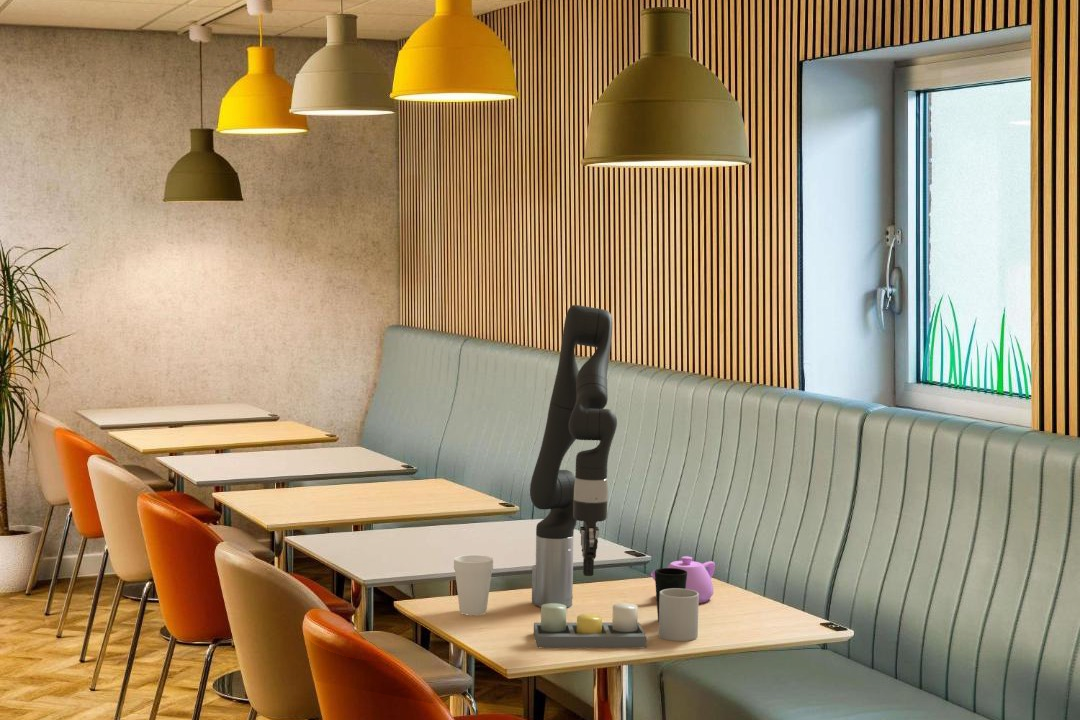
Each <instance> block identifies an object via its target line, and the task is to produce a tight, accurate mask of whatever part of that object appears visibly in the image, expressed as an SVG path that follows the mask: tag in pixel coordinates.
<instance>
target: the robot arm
mask: <svg viewBox="0 0 1080 720" xmlns="http://www.w3.org/2000/svg"><path fill="white" fill-rule="evenodd" d="M564 319H565V320H564V324H563V331H562V338H561V345H560V353H559V360H558V366H557V369H556V370H557V371H556V376H555V379H554V380H555V381H554V384H553V388H552V393H551V395H550V396H551V397H550V402H549V407H548V413H547V418H546V423H545V429H544V433H543V437H542V442H541V446H540V451H539V452H538V453H539V454H538V457H537V460H536V464H535V466H534V468H533V469H534V470H533V473H532V476H531V479H530V486H529V487H530V488H529V497H530V500H531V503H532V505H533V506H534V507H535V508H536V509H539V510H550V511H549V512H548V514H547V515H546V517H544V518H543V519H542V520H540V521H539V522H538V523H537V524H536V528H535V564H534V565H532V568H531V571H532V572H531V605H535V606H536V607H540V608H541V606H542V605H543V604H549V603H557V604H563V605H566V608H570V607H572V606H573V585H574V583H573V582H574V580H573V579H574V532H575V527H576V525H577V522H578V521H579V522H583V524H582V525H583V526H582V525H580V527H579V533H580V546H581V553H582V555H581V556H582V558H583V560H582V561H583V563H582V573H583V576H585V577H592V576H593V575H594V569H595V567H594V565H595V559H596V557H597V549H598V543H599V541H598V540H599V536H600V529H599V526H597V523H598V522H604V521H606V520H607V518H608V497H609V496H608V495H609V494H608V493H609V488H608V460H609V453H610V450H611V446H612V443H613V439H614V437H615V433H616V431H617V426H618V420H617V416H616V414H615V412H614V411H613V410H612V409H609V408H605V407H606V406H607V405H608V397H609V396H608V395H609V394H608V371H609V370H608V367H609V362H610V353H611V348H612V347H611V346H612V345H611V344H612V338H613V337H612V336H613V317H612V314H611V312H610V311H608V310H605V309H603V308H599V307H598V308H597V307H591V306H587V305H586V306H585V305H578V304H573V305H571V306H570V307H569V308H568V309H567V312H566V316H565V318H564ZM576 345H578V346H585V347H591V348H596V349H595V351H594V353H593V354H592V355H591V356H590V357H589V358H588V360H587V361H586V362H584V363H583V365H582V366H581V367H580V369H579V367H578V364H577V360H576V354H575V349H576ZM576 440H577V441H579V440H580V441H599V444H598V445H597V446H596V447H594V448H591V449H585V450H581V451H579V452H578V453H576V457H575V473H573V472H572V471H570V470H569V469H568V470H567V469H560V468H561V465H562V461H563V460H564V457H565V456H566V454H567V452H568V451H569V449H570V448H571V446H572V445H573V444H574V442H575V441H576Z"/></svg>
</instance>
